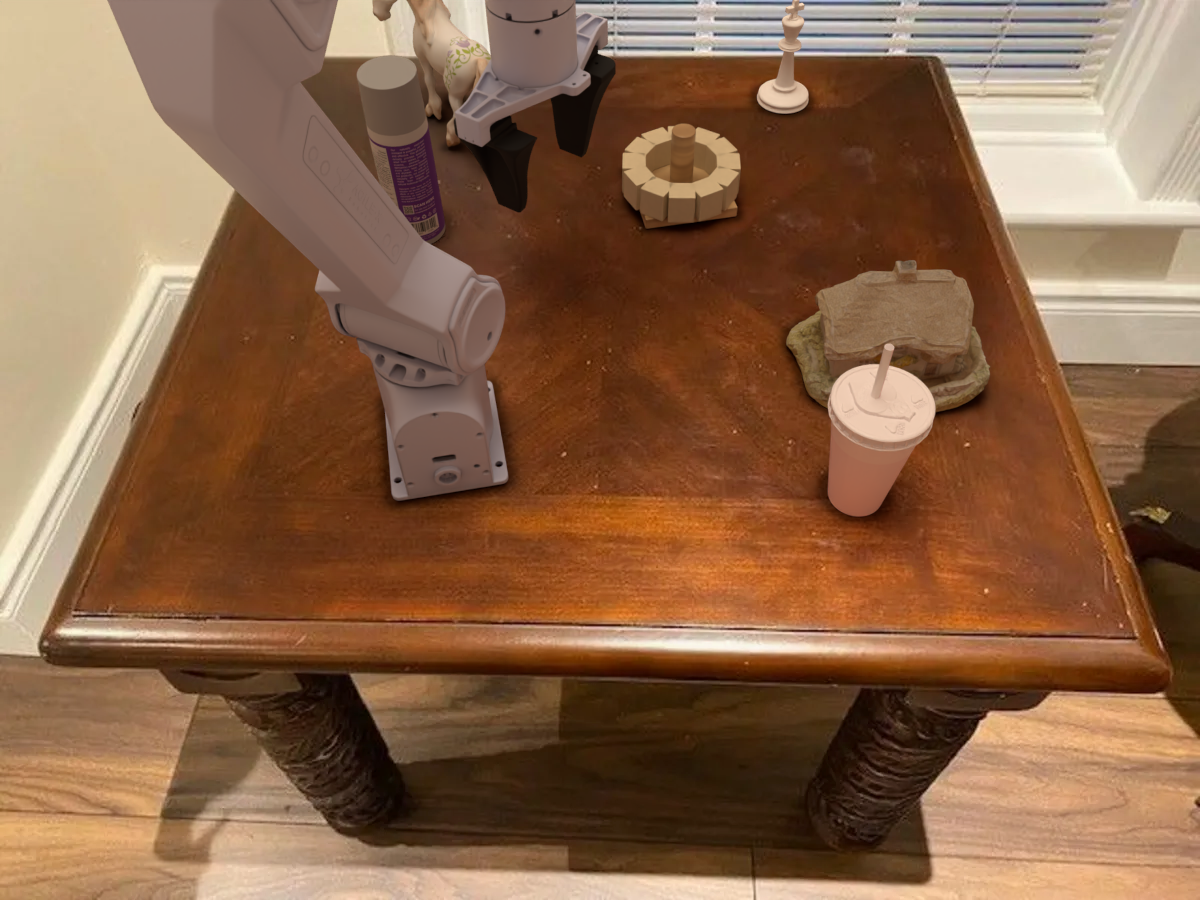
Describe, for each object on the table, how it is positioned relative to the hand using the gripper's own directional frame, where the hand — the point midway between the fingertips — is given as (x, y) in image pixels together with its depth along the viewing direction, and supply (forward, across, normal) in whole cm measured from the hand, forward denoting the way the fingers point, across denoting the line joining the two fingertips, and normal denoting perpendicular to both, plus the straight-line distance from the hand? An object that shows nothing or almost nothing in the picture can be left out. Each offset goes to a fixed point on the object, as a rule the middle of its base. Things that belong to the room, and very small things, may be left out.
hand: (543, 177), depth 76 cm
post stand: (+10, +16, -3) cm, 19 cm away
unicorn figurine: (+11, +11, +22) cm, 27 cm away
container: (+11, -1, +13) cm, 17 cm away
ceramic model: (+11, +6, -26) cm, 29 cm away
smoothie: (+11, -6, -30) cm, 32 cm away
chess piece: (+11, +33, -4) cm, 35 cm away
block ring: (+9, +15, -3) cm, 18 cm away
